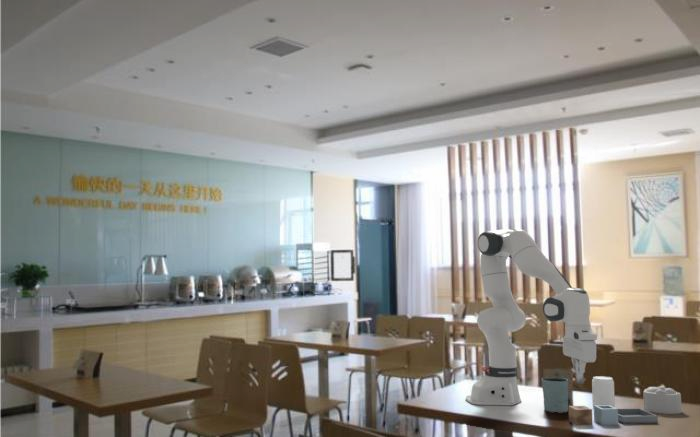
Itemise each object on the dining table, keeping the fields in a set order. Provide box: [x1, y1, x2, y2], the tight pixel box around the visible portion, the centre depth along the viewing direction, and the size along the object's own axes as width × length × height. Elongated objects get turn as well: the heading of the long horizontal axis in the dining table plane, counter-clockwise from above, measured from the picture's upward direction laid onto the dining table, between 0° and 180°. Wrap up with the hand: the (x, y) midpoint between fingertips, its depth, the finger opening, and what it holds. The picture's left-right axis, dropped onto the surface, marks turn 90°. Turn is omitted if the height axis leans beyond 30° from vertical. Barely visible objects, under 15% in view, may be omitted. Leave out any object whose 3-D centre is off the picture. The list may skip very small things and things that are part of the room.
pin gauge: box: [575, 359, 584, 385], centre depth 226 cm, size 3×3×9 cm
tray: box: [617, 407, 659, 425], centre depth 230 cm, size 13×12×2 cm
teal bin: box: [541, 376, 569, 414], centre depth 245 cm, size 10×10×12 cm
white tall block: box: [591, 375, 616, 408], centre depth 247 cm, size 8×8×12 cm
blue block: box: [593, 405, 619, 426], centre depth 226 cm, size 6×6×6 cm
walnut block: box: [568, 405, 593, 426], centre depth 225 cm, size 6×6×6 cm
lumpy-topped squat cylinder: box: [642, 385, 683, 415], centre depth 244 cm, size 10×13×9 cm
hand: (579, 371), depth 226 cm, fingers closed on pin gauge, 3 cm apart
